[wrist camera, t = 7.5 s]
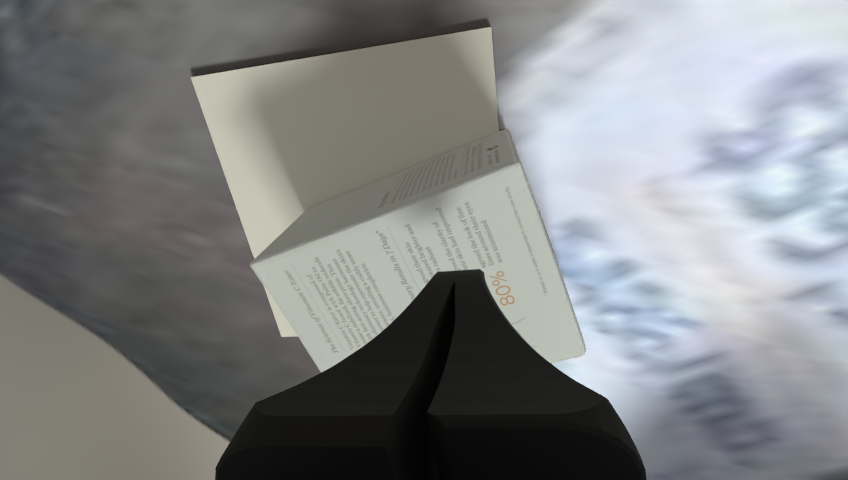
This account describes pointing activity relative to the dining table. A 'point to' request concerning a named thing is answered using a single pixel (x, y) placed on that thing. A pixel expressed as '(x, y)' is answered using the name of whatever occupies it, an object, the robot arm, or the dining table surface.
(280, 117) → the mat
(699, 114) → the dining table surface
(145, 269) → the dining table surface
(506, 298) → the small box
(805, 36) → the dining table surface
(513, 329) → the robot arm
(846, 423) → the dining table surface
